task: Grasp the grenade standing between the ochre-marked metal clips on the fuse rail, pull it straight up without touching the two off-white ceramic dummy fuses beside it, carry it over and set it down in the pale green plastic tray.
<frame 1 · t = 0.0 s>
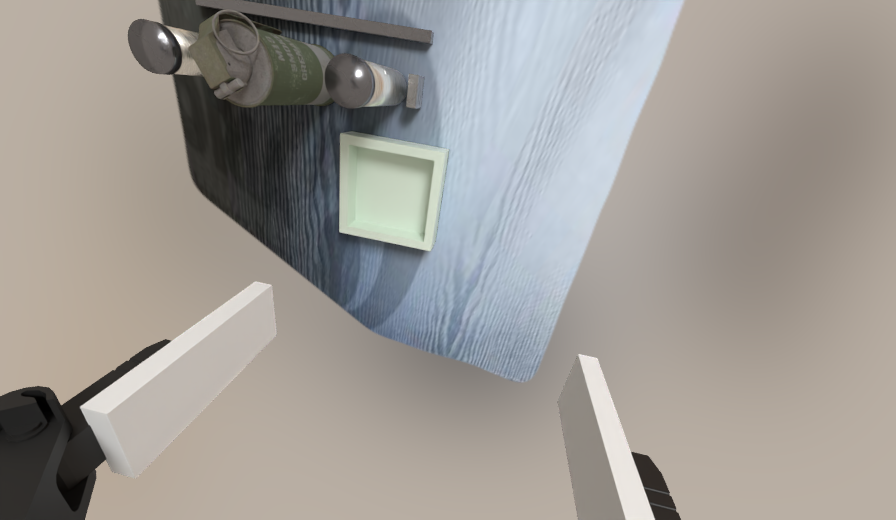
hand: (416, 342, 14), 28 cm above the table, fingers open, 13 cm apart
grenade: (317, 74, 37), on the table
fuse rail: (316, 74, 36), on the table
tray: (395, 189, 41), on the table
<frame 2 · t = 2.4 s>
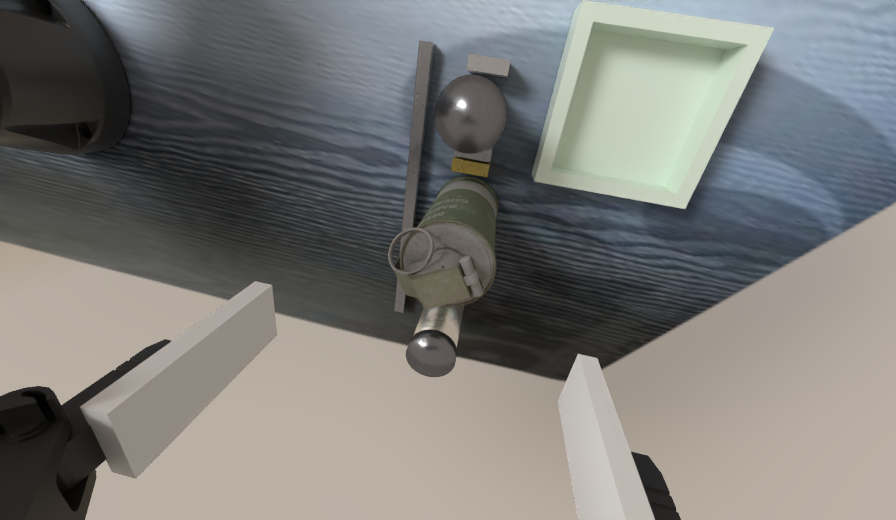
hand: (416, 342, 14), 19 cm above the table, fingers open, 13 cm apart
grenade: (464, 208, 31), on the table
fuse rail: (464, 208, 31), on the table
tray: (624, 113, 26), on the table
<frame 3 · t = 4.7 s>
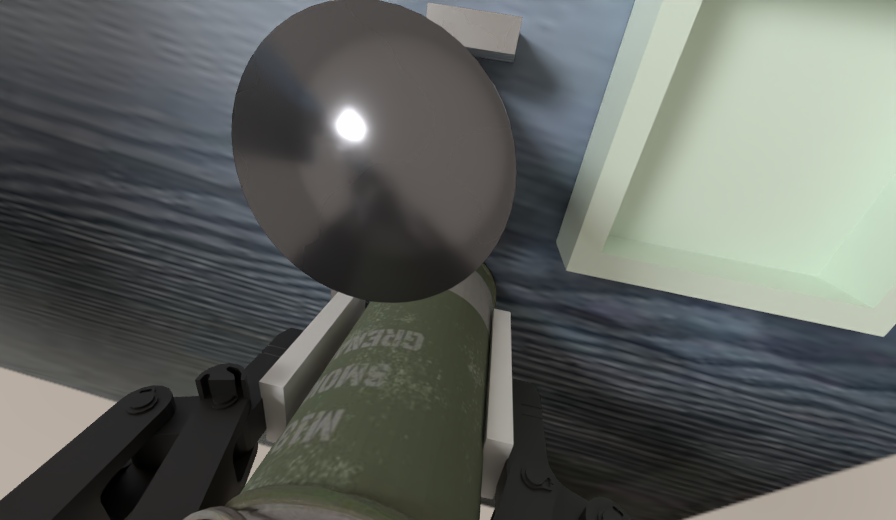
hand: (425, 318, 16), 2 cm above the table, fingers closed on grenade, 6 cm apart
grenade: (437, 290, 18), on the table, touching gripper
fuse rail: (436, 292, 18), on the table
tray: (753, 134, 13), on the table
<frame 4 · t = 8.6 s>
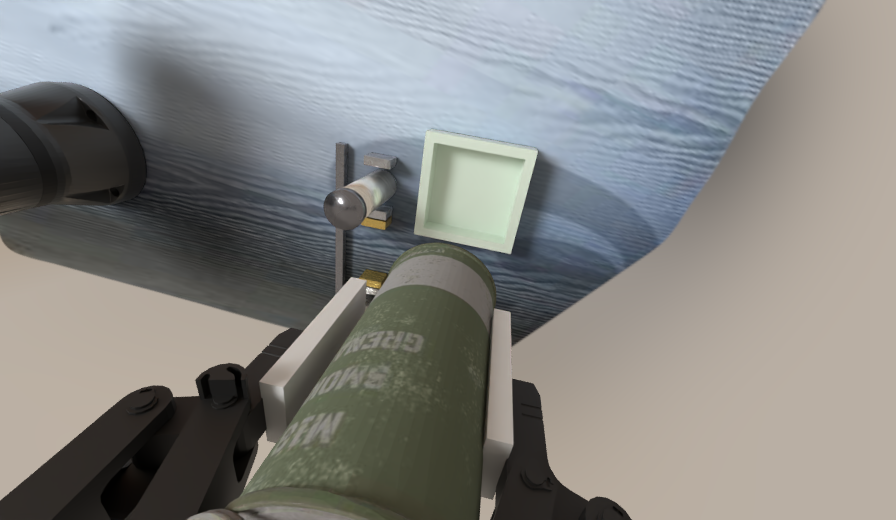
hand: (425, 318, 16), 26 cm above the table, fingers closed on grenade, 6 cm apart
grenade: (437, 291, 18), point 23 cm above the table, touching gripper
fuse rail: (378, 247, 44), on the table
tray: (473, 189, 39), on the table
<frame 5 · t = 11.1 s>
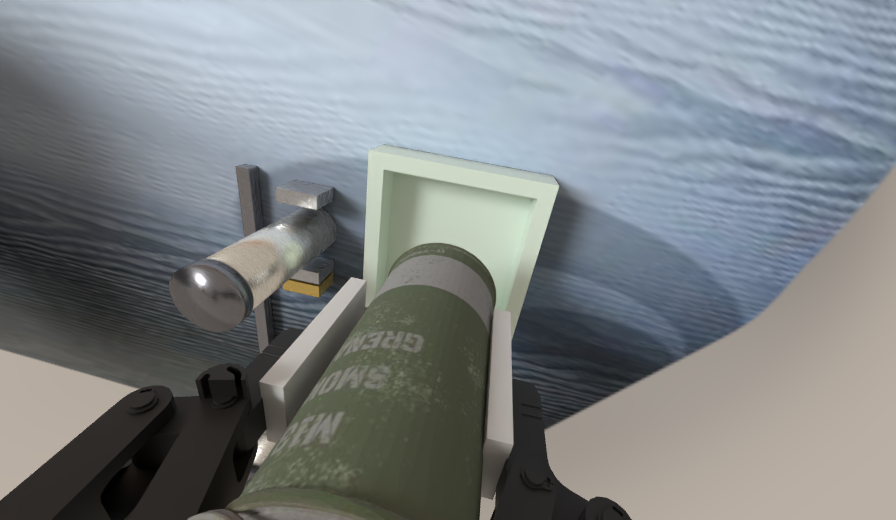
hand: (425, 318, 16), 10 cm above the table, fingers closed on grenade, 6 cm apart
grenade: (437, 292, 18), point 8 cm above the table, touching gripper
fuse rail: (317, 313, 30), on the table
tray: (453, 237, 25), on the table
when the fingers open (4 cm above the table, at t = 12.9 s): grenade stays where it is, resting on tray.
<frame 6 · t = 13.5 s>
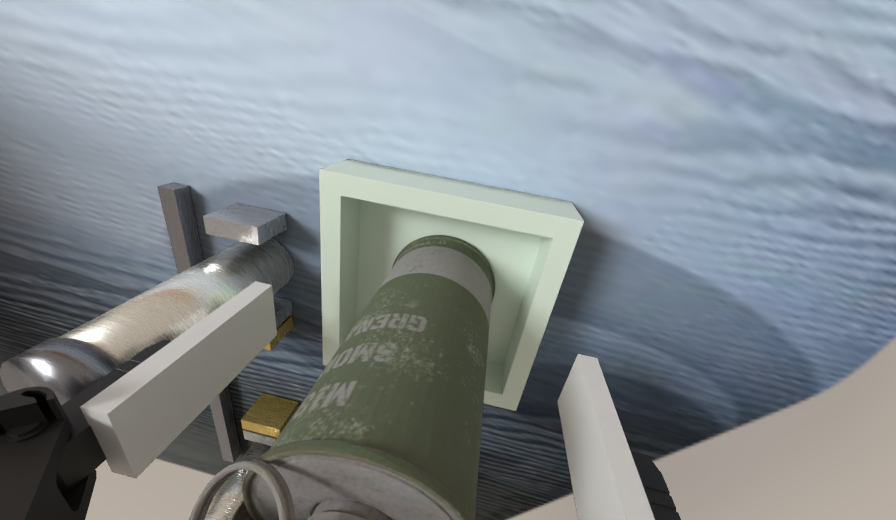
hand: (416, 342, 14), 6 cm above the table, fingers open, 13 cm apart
grenade: (440, 282, 19), resting on tray
fuse rail: (277, 362, 25), on the table
tray: (440, 277, 19), on the table
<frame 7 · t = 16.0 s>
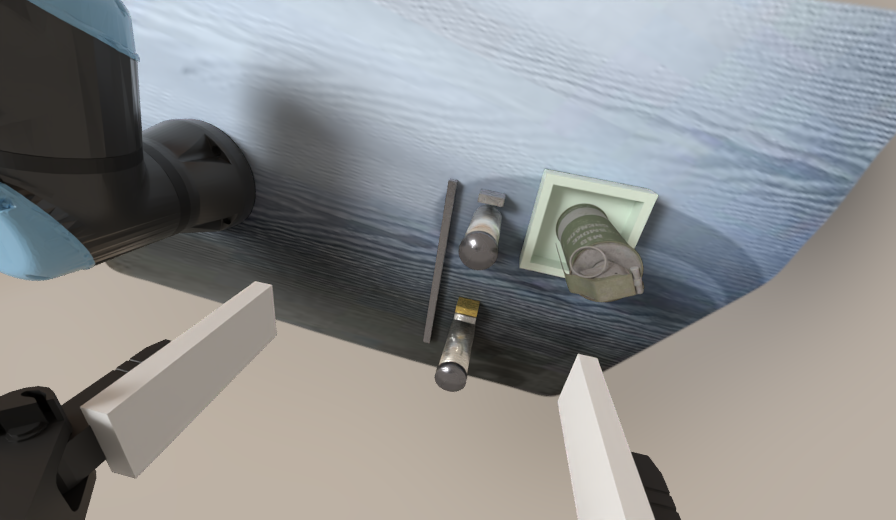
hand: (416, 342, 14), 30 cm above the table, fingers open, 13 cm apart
grenade: (579, 227, 40), resting on tray
fuse rail: (474, 276, 46), on the table
tray: (578, 225, 40), on the table
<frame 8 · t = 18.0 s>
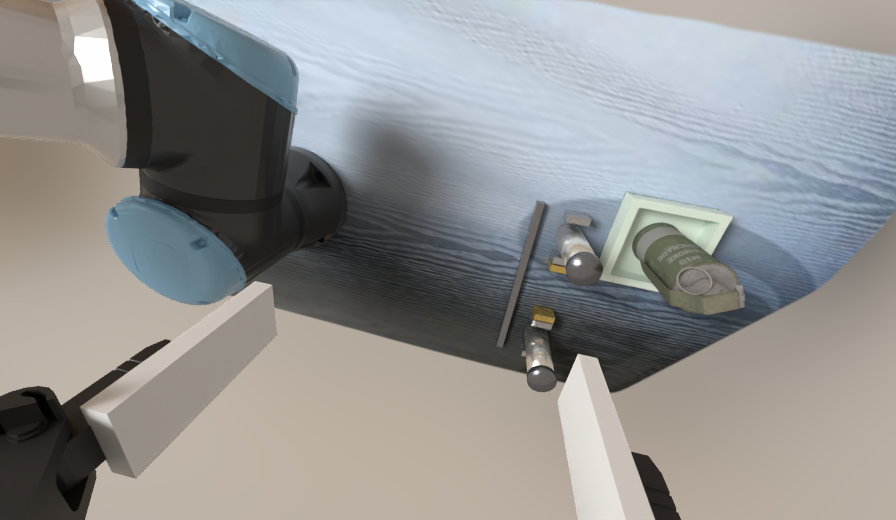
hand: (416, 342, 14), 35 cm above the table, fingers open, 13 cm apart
grenade: (654, 243, 45), resting on tray
fuse rail: (550, 286, 50), on the table
tray: (652, 241, 45), on the table
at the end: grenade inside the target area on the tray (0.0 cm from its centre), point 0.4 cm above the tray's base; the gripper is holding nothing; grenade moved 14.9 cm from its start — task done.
